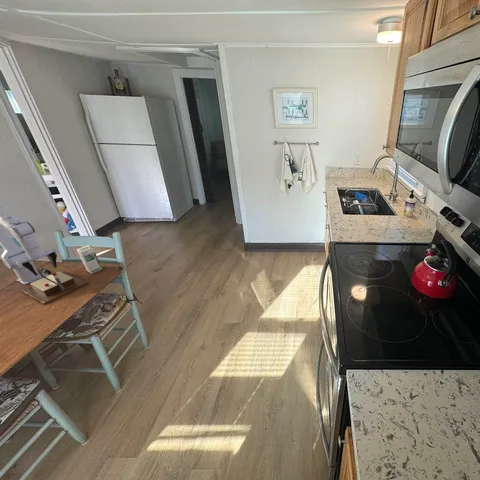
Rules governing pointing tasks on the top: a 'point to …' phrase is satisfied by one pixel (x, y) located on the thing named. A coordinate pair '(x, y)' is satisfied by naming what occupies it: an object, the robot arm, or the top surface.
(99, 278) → the top surface
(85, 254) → the syrup box
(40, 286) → the cake
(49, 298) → the cutting board
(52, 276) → the cleaver knife
